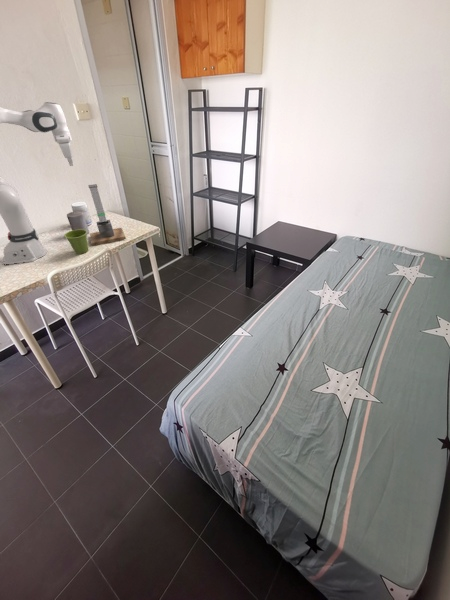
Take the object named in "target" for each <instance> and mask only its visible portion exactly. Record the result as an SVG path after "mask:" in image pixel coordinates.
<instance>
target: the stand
mask: <svg viewBox="0 0 450 600" xmlns="http://www.w3.org/2000/svg"><path fill="white" fill-rule="evenodd" d="M106 220H107V221H106V222H100V221H99V220H98V221H96V226H97V229H98V231H96V232H89V237H90V243H91V246H92V247H94V246H99V245H105V244H109V243H114V242H120V241H124V239H126V240H127V237H126V235H125V232H124V231H123V228H122V227H117V228H113V226H112V223H111V220H110V219H106Z"/></svg>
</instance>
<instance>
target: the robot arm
mask: <svg viewBox="0 0 450 600" xmlns="http://www.w3.org/2000/svg"><path fill="white" fill-rule="evenodd" d="M0 124H11V125H14V126H21V127H23V128H25V129H27V130H29V131H31V132H34V133H44V134H45V133H48V132H51V134H52V136H53V140H54V142H55V143H57V144H58V146H59V147H60V150H61V152H62V154H63V156H64V158H65V159H66V160H67V161H68V164H69V166H70V167H73V166H74V163H73V155H72V154H73V153H72V149H71V144H72V143H71V141H73V138H72V135H71V131H70V129H69V128H68V124H67V119H66V115H65V113H64V111H63V109H62V107H61V105H60V104H58V103H56V102H49V101H48V102H47V101H45V102H43V105H41V106H40V107H39V108H37V109H35V110H31V109H28V110H25V111H16V110H14V109H7V108H4V107H1V106H0ZM0 216H1V218H2V220H3V221H4V223H5V225H6V227H7V229H8V233H7V239H8V241H9V242H7V244H6V245H5V247H4V248H3V257H2V258H1V263H2V264H3V265H4V264H5V265H4V266H7V265H6V264H9V265H15V264H14V263H17V264H24V263H23V262H25V263H30V262H35V261H36V260H37V259H39V258H42V257H43V256H45V255H46V254H47V253H48V251H47V249H46V248H45V246H44V245H43V243H42V242H41V241H40V239H39V236H38V233H37V231H36V229H35V228H34V227H33V225H32V223H31V220H30V217H29V216H28V213H27V212H26V209H25V207H24V205H23V202H22V201H21V198H20V197H19V194H18V191H17V189H16V188H15V187H14V186H13V185H12V184H10V182H8V181H7V180H6V179H4V178H3V177H2V176H0Z"/></svg>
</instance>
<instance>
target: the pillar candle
mask: <svg viewBox="0 0 450 600" xmlns="http://www.w3.org/2000/svg"><path fill="white" fill-rule="evenodd" d="M66 218H67V221H68V223H69V225H70V228H71V229H70V230H71V231H72V230H78V229H82V230H86V231H87V235H90V230H89V226H87V223H86V221H85V218H84V215H83V212H81V211H75V212H73V211H70V212H68V213H67V214H66Z"/></svg>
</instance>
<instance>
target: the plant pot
mask: <svg viewBox="0 0 450 600" xmlns="http://www.w3.org/2000/svg"><path fill="white" fill-rule="evenodd" d="M63 237H65V238H66V240H67V241H68V242H69V244H70V246H71V247H72V249H73V252H74V253H75V254H77V255H82V254H86V253H87V252H89V246H88V245H89V243H88V238H87V237H88V234H87V231H86V230H82V229H78V230H72V229H71V230H70V231H67V232H66V233H64V236H63Z"/></svg>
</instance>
